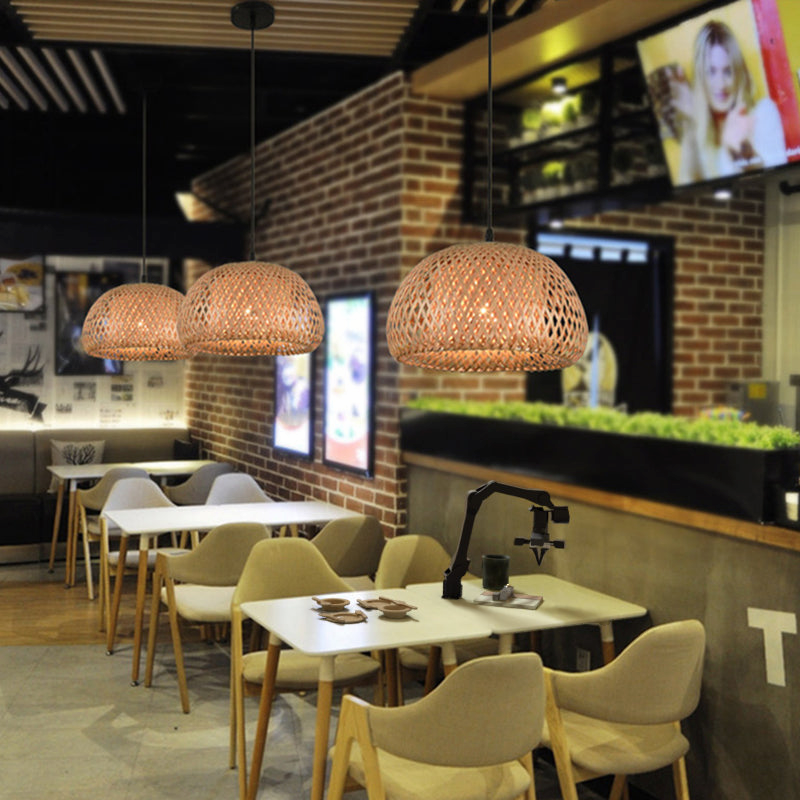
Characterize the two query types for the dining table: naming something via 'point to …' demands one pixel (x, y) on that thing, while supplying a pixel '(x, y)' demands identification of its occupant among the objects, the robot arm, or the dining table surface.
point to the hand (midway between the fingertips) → (539, 565)
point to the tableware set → (382, 604)
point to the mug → (495, 571)
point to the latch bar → (506, 592)
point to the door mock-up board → (509, 600)
